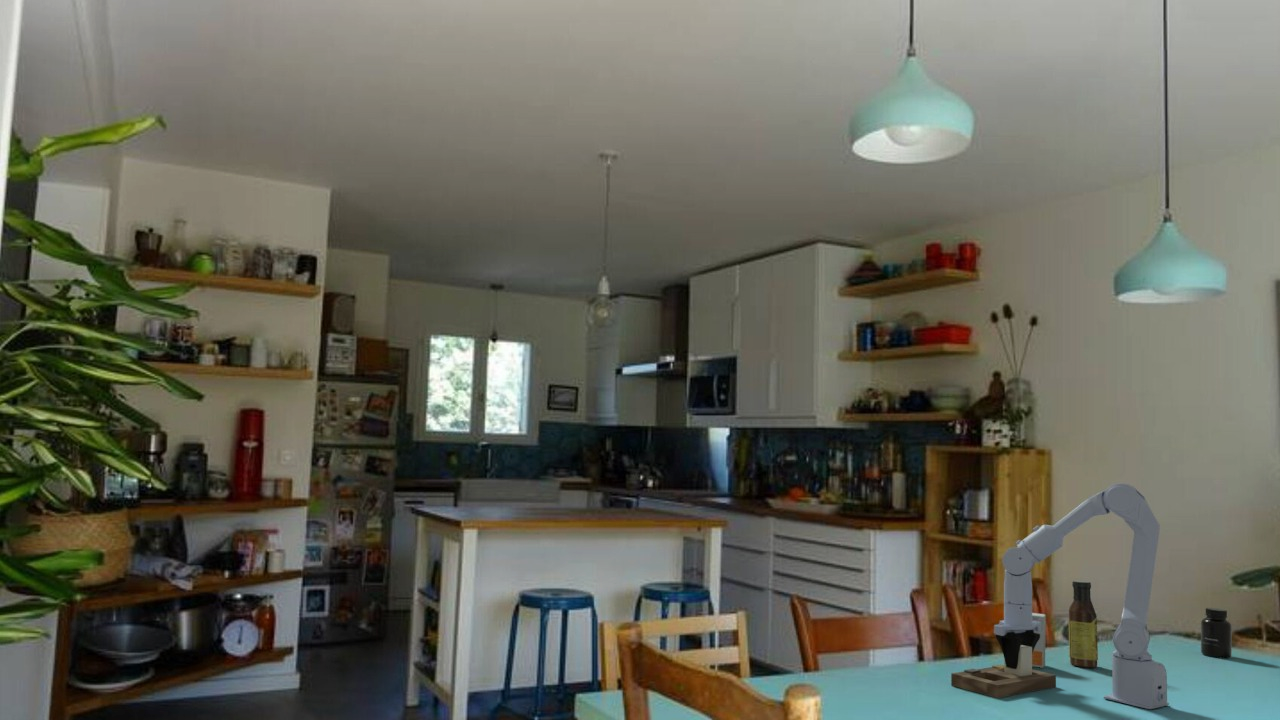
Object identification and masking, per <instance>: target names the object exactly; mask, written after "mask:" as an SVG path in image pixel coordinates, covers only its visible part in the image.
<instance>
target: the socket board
mask: <svg viewBox="0 0 1280 720" xmlns="http://www.w3.org/2000/svg"><path fill="white" fill-rule="evenodd" d="M977 670H981V672H980V673H974V674H970V673H966V672H964V671H959V672H952V673H951V675H950V676H951V677H950V679H951V680H950V684H951V687H956V688H958V689H959V688H960V689H962V690H963V689H964V690H966V691H970V692H973V693H974V692H975V693H977V694H981V695H986V696H988V697H992V698H996V699H1000V698H1005V697H1011V696H1016V695H1021V694H1026V693H1031V692H1036V691H1041V690H1042V689H1043V690H1047V689H1052V688H1056V687H1057V685H1056V684H1057V675H1056V674H1054V673H1049V672H1045V671H1042V670H1036V669H1032V675H1027V676H1019V675H1015V674H1010V673H1006V672H1004V669H996V668H992V666H991V667H985V668H977Z"/></svg>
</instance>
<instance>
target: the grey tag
mask: <svg viewBox="0 0 1280 720" xmlns="http://www.w3.org/2000/svg"><path fill="white" fill-rule="evenodd" d="M977 669H978V668H977ZM977 669H976V668H969V669H964V670H963V672H966V673H970V674H974V673H980V672H981V670H977Z"/></svg>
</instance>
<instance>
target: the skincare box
mask: <svg viewBox="0 0 1280 720" xmlns="http://www.w3.org/2000/svg"><path fill="white" fill-rule="evenodd" d="M1046 616H1047V615H1046V614H1044V613H1037V612H1036V613H1035V612H1032V621H1037V622H1041V631H1034V633H1038V634H1040V639H1039V640H1038V642H1037V644H1036V646H1035V648H1034V650H1033V653H1032V668H1033V667H1034V668H1039V667H1040V668H1039V669H1044V668H1045V666H1046V632H1047V631H1046V621H1047V620H1046V619H1047V617H1046Z"/></svg>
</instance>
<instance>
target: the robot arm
mask: <svg viewBox="0 0 1280 720" xmlns="http://www.w3.org/2000/svg"><path fill="white" fill-rule="evenodd" d="M1111 512H1112V513H1114V515H1116V516H1118V517H1120V518H1121V519H1122V520H1124V522H1125V523H1126V524H1127V525H1128V527H1129V528H1130V529H1131V531H1133V539H1132V547H1131V552H1130V553H1131V554H1130V559H1129V565H1128V566H1129V567H1128V572H1127V573H1128V574H1127V580H1126V588H1125V594H1124V601H1123V607H1122V608H1123V609H1122V613H1121V617H1120V618H1121V619H1120V624H1118V626H1117V628H1116V630H1115V632H1114V634H1113V636H1112V643H1113V646H1114V648H1115V650H1113V651H1112V653H1111V656H1112V657H1111V660H1112V664H1111V668H1112V670H1111V671H1112V676H1111V677H1112V678H1111V679H1112V680H1111V681H1112V693H1110V694H1106V695H1103V699H1106V700H1110V701H1114V702H1117V703H1122V704H1127V705H1128V706H1129V705H1130V706H1134V707H1138V708H1143V709H1146V710H1153V709H1158V708H1162V707H1166V706H1169V705H1170V702H1168V676H1167V674H1168V673H1167V669H1166V666H1165V665H1164V664H1163V663H1162V662H1158V661H1155V660H1154V659H1153V656H1152V655H1151V654H1150V653H1149V651H1148V649H1149V644H1150V641H1151V636H1150V633H1149V629H1148V625H1147V624H1148V616H1149V609H1150V608H1149V606H1150V602H1151V601H1150V600H1151V594H1152V593H1151V592H1152V586H1153V581H1154V580H1153V579H1154V572H1155V566H1156V559H1157V554H1158V553H1157V552H1158V545H1159V537H1160V533H1161V532H1160V530H1161V528H1160V527H1161V526H1160V523H1159V521H1158V519H1157V517H1156V516H1155V514H1154V512H1153V510H1152V508H1151V507H1150V504H1149V503H1148V501H1147V499H1146V497H1145V496H1144V495H1143V494H1142V493H1141V492H1140V491H1139V490H1138V489H1136V488H1135V487H1134V486H1133V485H1131V484H1130V483H1129V484H1128V483H1124V482H1123V483H1115V484H1112V485H1110V486H1109V487H1107V489H1106V490H1102V491H1100V492H1098V493H1096V494H1094V495H1092V496H1091V497H1088V498H1087V499H1086V500H1084V501H1083V502H1081V503H1080V504H1079V505H1078V506H1077V507H1075V508H1074V509H1073V510H1071V511H1070V512H1069V513H1068V514H1066V515H1065V516H1064V517H1062V518H1061V519H1060V520H1058V521H1057V522H1056V523H1055V524H1054V525H1050V524H1043V525H1041V526H1040V525H1036V526H1035V527H1034V528H1032V531H1033V532H1031V533H1030V534H1028V536H1026V537H1025V538H1023V539H1022V540H1020V539H1018V540H1017V541H1015V544H1016V546H1013V547H1009V548H1008V549H1007V550H1006V551H1005V552H1004V554H1003V555H1002V559H1001V561H1002V565H1003V568H1004V569H1005V570H1004V580H1003V619H1002V620H999V623H998V624H994V625H993V634H994V635H995V638H996V640H997V641H998V643H999V646H1000V649H1001V651H1002V655H1003V659H1005V663H1006V667H1008V668H1012V669H1017V665H1018V656H1019V650H1020V646H1021V645H1025V646H1030V647H1032V653H1033V650H1034V648H1035V646H1036V644H1037V642H1038V640H1039V639H1040V634H1038V633H1034V631H1041V622H1037V621H1032V613H1033V582H1032V570H1033V568H1034V567H1035V563H1036V564H1040V563H1042V562H1043V561H1044V560H1046V558H1048V557H1049V556H1051V555H1053V553H1055V552H1057V551H1058V550H1059V549H1061V548H1062V547H1063V546H1064V539H1065V538H1064V537H1066V536H1067V535H1069V534H1070V533H1071V532H1073V531H1075V530H1076V529H1078V528H1079V527H1080V526H1082V525H1083V524H1084V523H1087V522H1088V521H1089V520H1091V519H1092V518H1093V517H1095V516H1096V517H1097V516H1102V515H1108V514H1110V513H1111Z"/></svg>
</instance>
